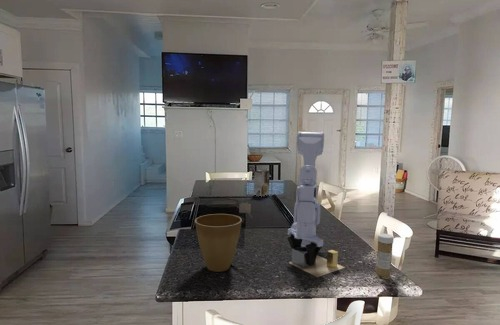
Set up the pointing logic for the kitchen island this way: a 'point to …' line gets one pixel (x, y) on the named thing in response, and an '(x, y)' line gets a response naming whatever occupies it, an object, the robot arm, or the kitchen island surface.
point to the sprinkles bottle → (384, 255)
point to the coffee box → (261, 182)
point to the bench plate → (320, 267)
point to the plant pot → (218, 239)
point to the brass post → (332, 258)
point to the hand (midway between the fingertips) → (303, 261)
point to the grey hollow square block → (300, 257)
